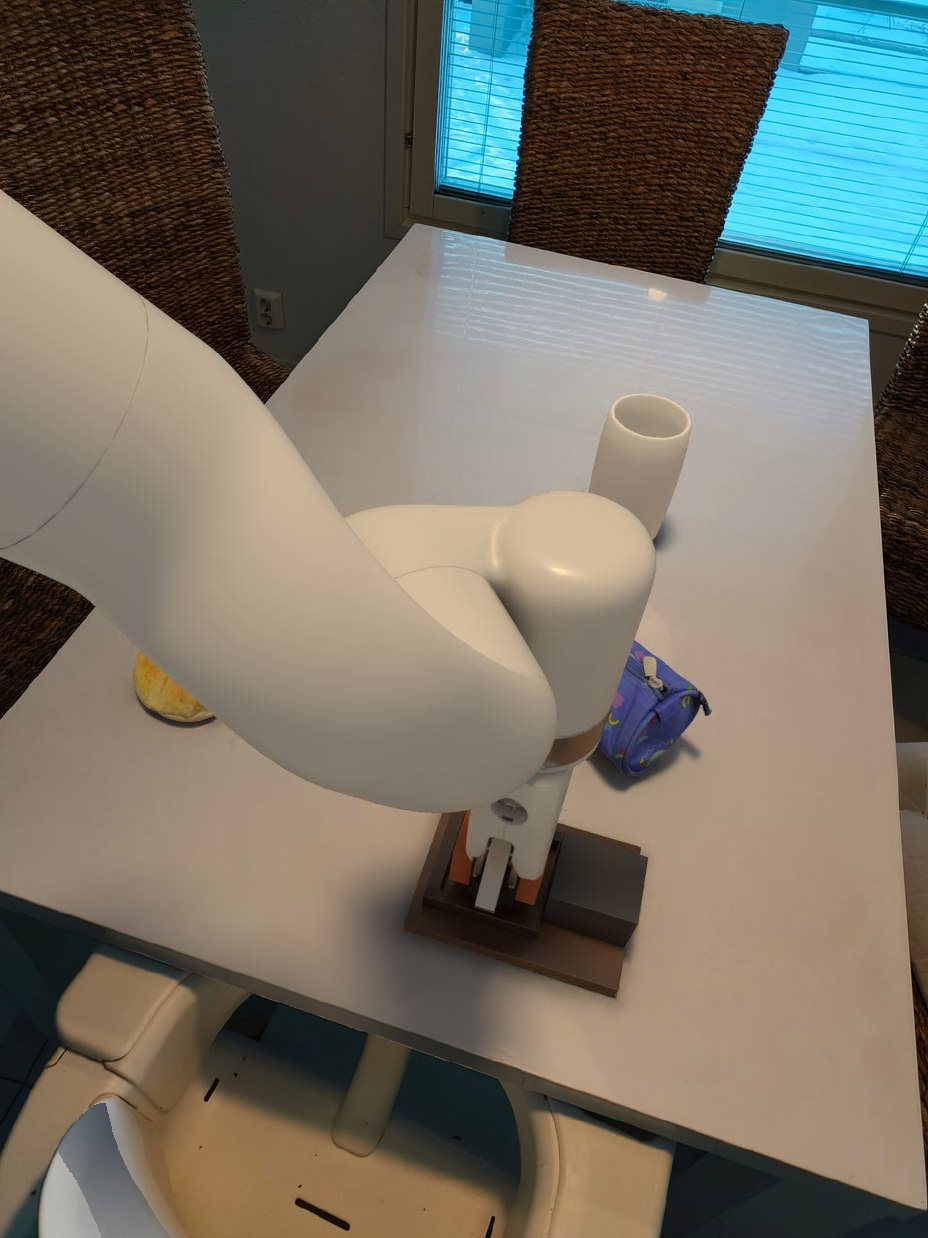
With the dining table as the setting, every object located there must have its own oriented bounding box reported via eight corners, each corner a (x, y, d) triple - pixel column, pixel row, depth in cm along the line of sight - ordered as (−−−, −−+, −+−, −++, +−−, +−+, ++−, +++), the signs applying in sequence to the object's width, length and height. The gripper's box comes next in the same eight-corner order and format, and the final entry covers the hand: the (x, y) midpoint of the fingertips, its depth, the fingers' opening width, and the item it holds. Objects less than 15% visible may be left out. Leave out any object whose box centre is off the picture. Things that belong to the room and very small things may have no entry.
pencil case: (695, 751, 71) (729, 680, 64) (622, 803, 67) (651, 733, 60) (526, 594, 82) (540, 518, 75) (455, 630, 78) (463, 554, 72)
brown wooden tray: (614, 997, 57) (631, 968, 53) (403, 930, 59) (404, 897, 55) (637, 854, 64) (654, 819, 61) (449, 798, 66) (453, 761, 63)
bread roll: (184, 631, 76) (176, 600, 73) (261, 677, 73) (256, 646, 70) (112, 690, 71) (101, 659, 68) (192, 742, 68) (183, 712, 65)
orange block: (533, 906, 57) (542, 879, 54) (448, 879, 58) (452, 851, 55) (549, 842, 61) (558, 813, 58) (468, 817, 62) (473, 788, 59)
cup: (590, 495, 94) (617, 382, 83) (665, 517, 92) (702, 404, 82) (570, 543, 88) (596, 428, 78) (650, 566, 86) (687, 452, 76)
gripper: (576, 858, 40) (525, 996, 53) (630, 610, 51) (576, 775, 65) (424, 812, 41) (411, 958, 54) (510, 579, 52) (481, 747, 66)
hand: (501, 857), depth 59 cm, fingers closed on orange block, 4 cm apart
